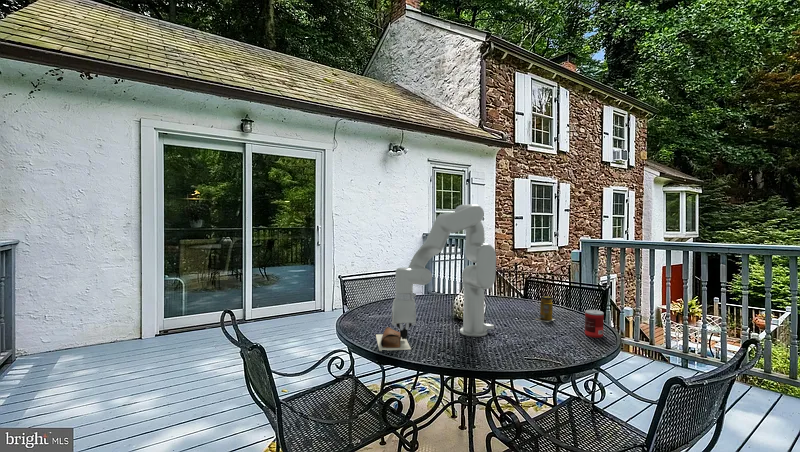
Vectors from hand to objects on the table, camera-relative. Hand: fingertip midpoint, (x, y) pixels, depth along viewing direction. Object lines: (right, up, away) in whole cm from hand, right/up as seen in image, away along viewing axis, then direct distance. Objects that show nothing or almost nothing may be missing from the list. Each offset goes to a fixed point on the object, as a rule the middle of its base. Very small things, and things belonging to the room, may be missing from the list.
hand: (403, 338), depth 172 cm
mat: (-5, -1, -1) cm, 5 cm away
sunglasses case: (-5, -1, 0) cm, 5 cm away
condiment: (+75, -1, +36) cm, 83 cm away
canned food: (+87, -2, +10) cm, 88 cm away
